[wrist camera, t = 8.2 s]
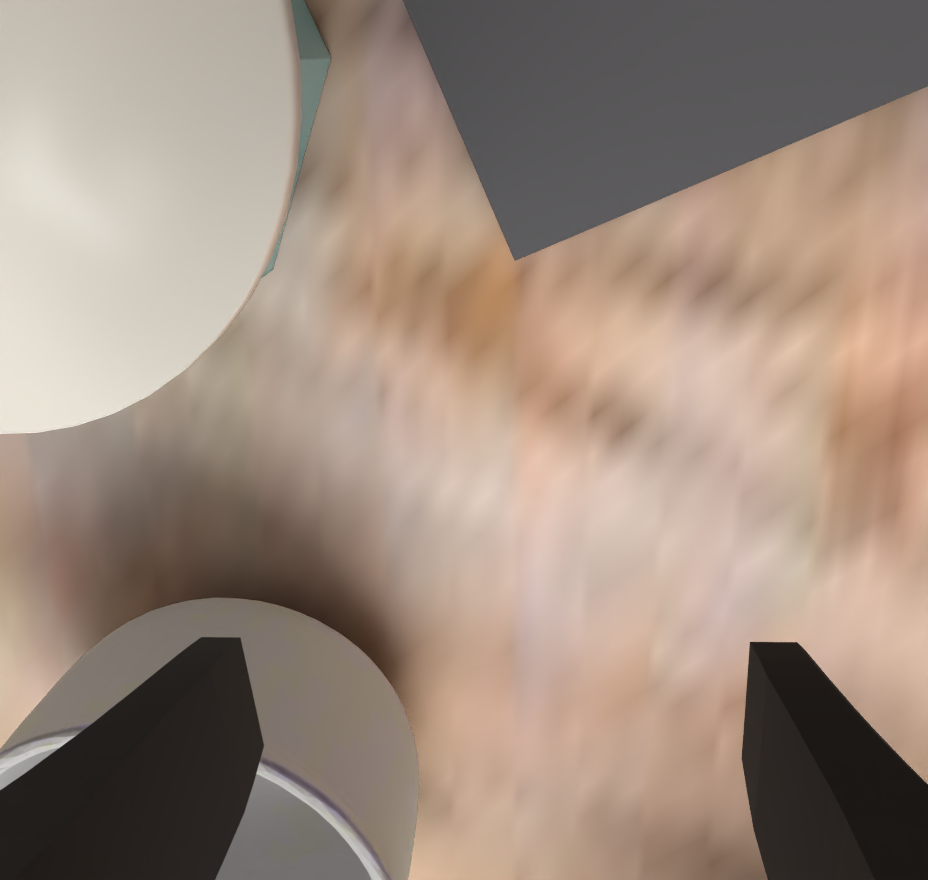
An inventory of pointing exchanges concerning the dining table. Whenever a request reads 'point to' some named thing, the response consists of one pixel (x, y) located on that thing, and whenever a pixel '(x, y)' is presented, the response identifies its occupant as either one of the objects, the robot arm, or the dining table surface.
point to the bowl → (306, 84)
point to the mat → (651, 92)
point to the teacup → (269, 737)
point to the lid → (134, 191)
